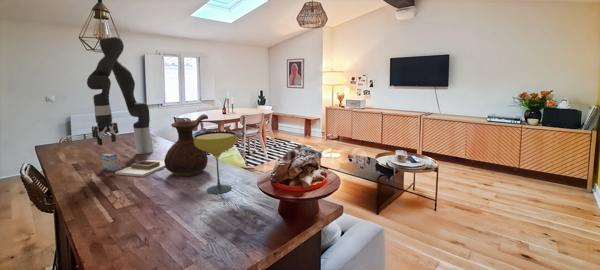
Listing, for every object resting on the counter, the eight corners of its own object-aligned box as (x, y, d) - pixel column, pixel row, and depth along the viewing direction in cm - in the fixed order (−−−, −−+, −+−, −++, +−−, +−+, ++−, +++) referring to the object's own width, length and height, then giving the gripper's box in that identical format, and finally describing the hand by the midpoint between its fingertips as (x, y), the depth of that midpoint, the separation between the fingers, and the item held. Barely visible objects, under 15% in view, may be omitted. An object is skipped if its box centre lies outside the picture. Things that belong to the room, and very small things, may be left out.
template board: (148, 161, 193) (147, 156, 192) (173, 163, 188) (173, 158, 187) (115, 174, 170) (114, 168, 170) (143, 176, 165) (142, 170, 165)
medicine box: (103, 170, 178) (100, 154, 177) (110, 167, 182) (108, 153, 181) (111, 171, 175) (109, 156, 173) (119, 169, 179) (117, 154, 177)
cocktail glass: (222, 180, 158) (219, 129, 153) (247, 187, 146) (244, 133, 141) (190, 191, 144) (184, 136, 139) (214, 200, 133) (210, 141, 128)
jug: (196, 180, 158) (191, 120, 152) (157, 178, 162) (150, 119, 156) (216, 167, 179) (212, 113, 173) (181, 166, 183) (176, 113, 177)
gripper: (109, 112, 180) (112, 140, 183) (85, 115, 167) (90, 146, 170) (119, 112, 178) (123, 141, 181) (96, 115, 165) (101, 146, 168)
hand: (107, 143), depth 176 cm, fingers open, 8 cm apart
